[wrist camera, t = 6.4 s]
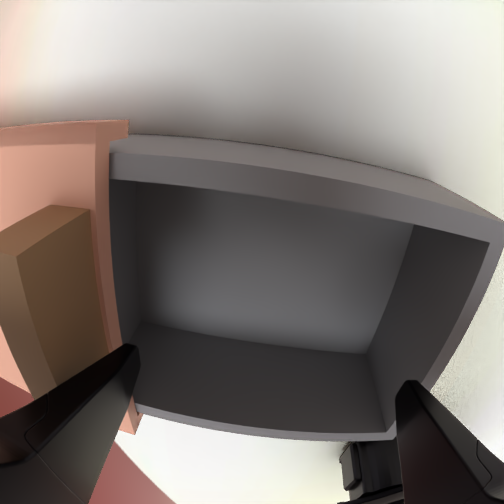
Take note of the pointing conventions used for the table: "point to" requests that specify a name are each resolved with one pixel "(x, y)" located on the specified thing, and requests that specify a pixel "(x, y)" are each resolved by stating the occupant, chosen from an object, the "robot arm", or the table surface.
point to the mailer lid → (57, 254)
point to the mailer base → (287, 284)
